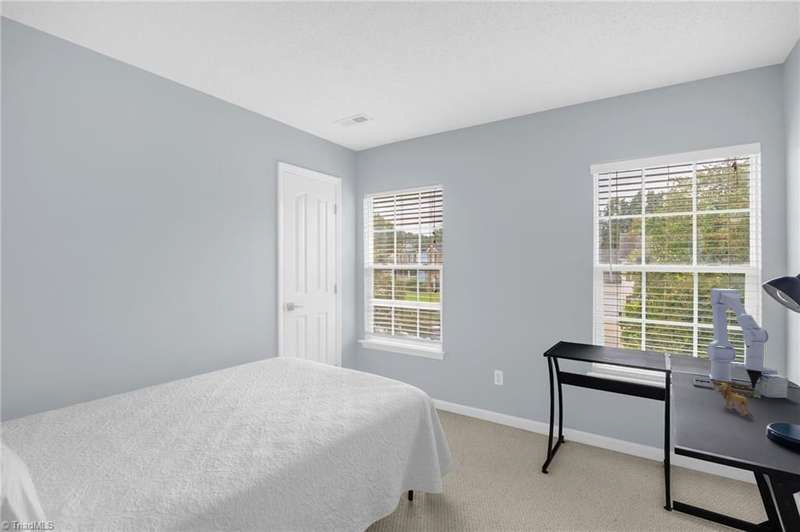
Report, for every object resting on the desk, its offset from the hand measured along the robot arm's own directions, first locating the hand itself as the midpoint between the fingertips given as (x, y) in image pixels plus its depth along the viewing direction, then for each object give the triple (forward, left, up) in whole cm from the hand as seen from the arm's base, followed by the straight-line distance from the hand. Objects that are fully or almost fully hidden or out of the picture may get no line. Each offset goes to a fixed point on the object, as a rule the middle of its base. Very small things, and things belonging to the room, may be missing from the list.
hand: (753, 388), depth 167 cm
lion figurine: (+34, -10, -3) cm, 35 cm away
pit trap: (0, -17, -2) cm, 17 cm away
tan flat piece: (0, -6, -2) cm, 6 cm away
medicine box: (0, +6, -2) cm, 7 cm away
